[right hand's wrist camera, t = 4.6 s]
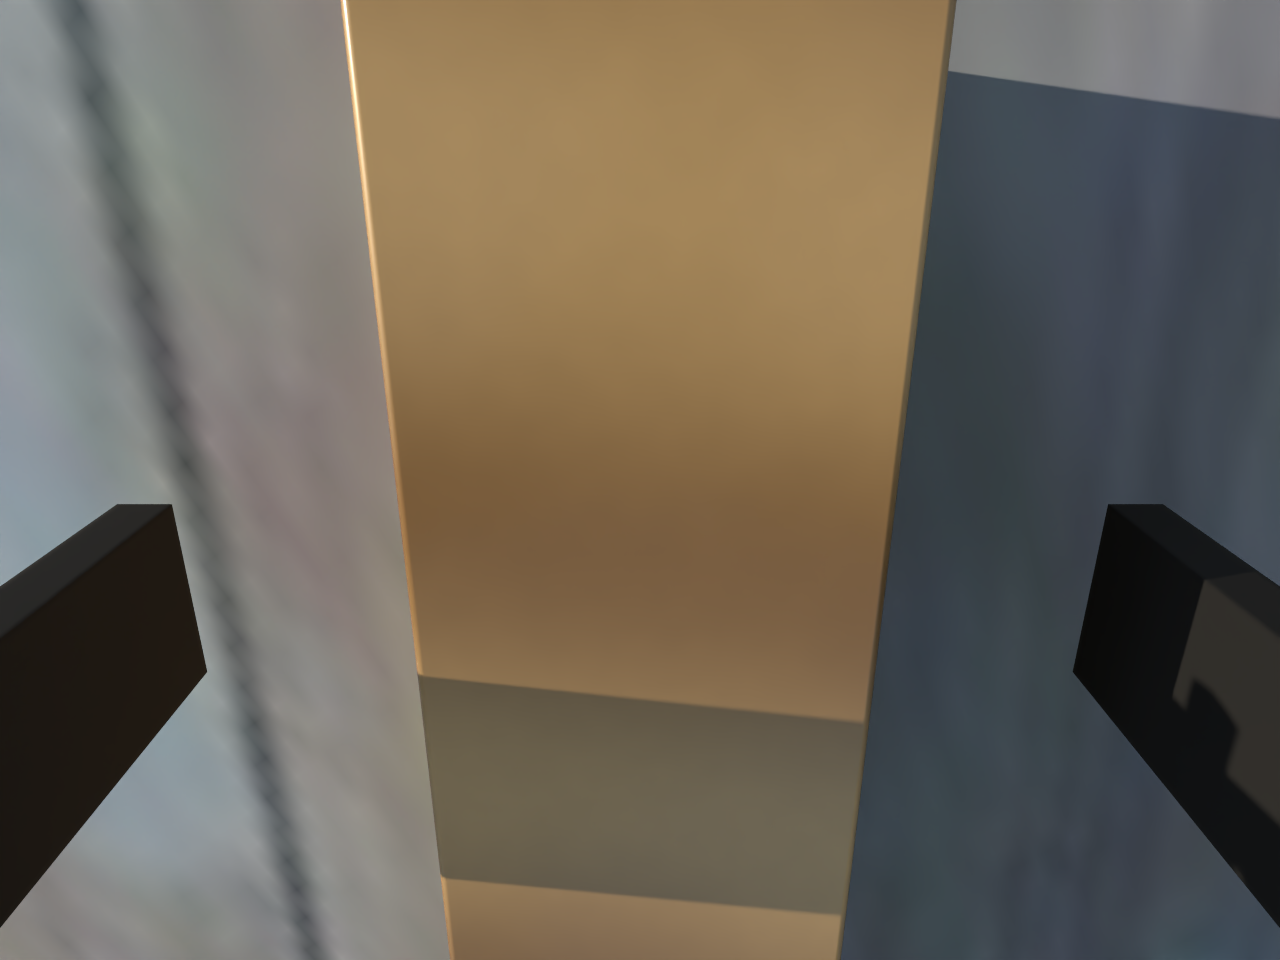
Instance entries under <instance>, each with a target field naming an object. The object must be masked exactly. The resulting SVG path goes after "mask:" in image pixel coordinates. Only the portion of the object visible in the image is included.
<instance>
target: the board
mask: <svg viewBox="0 0 1280 960" xmlns="http://www.w3.org/2000/svg"><path fill="white" fill-rule="evenodd" d="M340 1H341V10H342V19H343V27H344V36H345V45H346V53H347V62H348V71H349V80H350V88H351V97H352V106H353V115H354V123H355V132H356V141H357V149H358V158H359V167H360V176H361V184H362V193H363V202H364V211H365V219H366V228H367V237H368V246H369V254H370V263H371V272H372V280H373V289H374V298H375V307H376V315H377V324H378V333H379V342H380V350H381V359H382V368H383V377H384V385H385V394H386V403H387V411H388V420H389V429H390V438H391V446H392V455H393V464H394V473H395V481H396V490H397V499H398V508H399V516H400V525H401V534H402V542H403V551H404V560H405V569H406V577H407V586H408V595H409V604H410V612H411V621H412V630H413V638H414V647H415V656H416V665H417V673H418V682H419V691H420V700H421V708H422V717H423V726H424V735H425V743H426V752H427V761H428V769H429V778H430V787H431V796H432V804H433V813H434V822H435V831H436V839H437V848H438V857H439V866H440V874H441V883H442V892H443V900H444V909H445V918H446V927H447V935H448V944H449V953H450V960H841V952H842V943H843V935H844V927H845V919H846V910H847V902H848V894H849V886H850V877H851V869H852V861H853V853H854V844H855V836H856V828H857V819H858V811H859V803H860V795H861V786H862V778H863V770H864V762H865V753H866V745H867V737H868V729H869V720H870V712H871V704H872V695H873V687H874V679H875V671H876V662H877V654H878V646H879V638H880V629H881V621H882V613H883V605H884V596H885V588H886V580H887V572H888V563H889V555H890V547H891V538H892V530H893V522H894V514H895V505H896V497H897V489H898V481H899V472H900V464H901V456H902V448H903V439H904V431H905V423H906V414H907V406H908V398H909V390H910V381H911V373H912V365H913V357H914V348H915V340H916V332H917V324H918V315H919V307H920V299H921V290H922V282H923V274H924V266H925V257H926V249H927V241H928V233H929V224H930V216H931V208H932V200H933V191H934V183H935V175H936V167H937V158H938V150H939V142H940V133H941V125H942V117H943V109H944V100H945V92H946V84H947V76H948V67H949V59H950V51H951V43H952V34H953V26H954V18H955V9H956V1H957V0H340Z"/></svg>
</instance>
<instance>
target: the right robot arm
mask: <svg viewBox="0 0 1280 960" xmlns="http://www.w3.org/2000/svg"><path fill="white" fill-rule="evenodd" d="M206 673H207V669H206V664H205V659H204V654H203V650H202V645H201V640H200V636H199V631H198V626H197V621H196V617H195V612H194V607H193V602H192V598H191V593H190V588H189V584H188V579H187V574H186V569H185V565H184V560H183V555H182V550H181V546H180V541H179V536H178V531H177V527H176V522H175V517H174V513H173V508H172V504H117V505H115V506H114V507H113V508H111V509H110V510H108V511H107V512H106V513H104V514H103V515H101V516H100V517H98V518H97V519H96V520H94V521H93V522H91V523H90V524H88V525H87V526H86V527H84V528H83V529H81V530H80V531H78V532H77V533H76V534H74V535H73V536H71V537H70V538H69V539H67V540H66V541H64V542H63V543H61V544H60V545H59V546H57V547H56V548H54V549H53V550H51V551H50V552H49V553H47V554H46V555H44V556H43V557H42V558H40V559H39V560H37V561H36V562H34V563H33V564H32V565H30V566H29V567H27V568H26V569H24V570H23V571H22V572H20V573H19V574H17V575H16V576H15V577H13V578H12V579H10V580H9V581H7V582H6V583H5V584H3V585H2V586H0V927H1V926H2V925H3V924H4V922H5V921H6V920H7V919H8V917H9V916H10V915H11V914H12V913H13V911H14V910H15V909H16V908H17V906H18V905H19V904H20V903H21V901H22V900H23V899H24V898H25V896H26V895H27V894H28V893H29V892H30V890H31V889H32V888H33V887H34V885H35V884H36V883H37V882H38V880H39V879H40V878H41V877H42V875H43V874H44V873H45V872H46V871H47V869H48V868H49V867H50V866H51V864H52V863H53V862H54V861H55V859H56V858H57V857H58V856H59V854H60V853H61V852H62V851H63V849H64V848H65V847H66V846H67V845H68V843H69V842H70V841H71V840H72V838H73V837H74V836H75V835H76V833H77V832H78V831H79V830H80V828H81V827H82V826H83V825H84V824H85V822H86V821H87V820H88V819H89V817H90V816H91V815H92V814H93V812H94V811H95V810H96V809H97V807H98V806H99V805H100V804H101V802H102V801H103V800H104V799H105V798H106V796H107V795H108V794H109V793H110V791H111V790H112V789H113V788H114V786H115V785H116V784H117V783H118V781H119V780H120V779H121V778H122V777H123V775H124V774H125V773H126V772H127V770H128V769H129V768H130V767H131V765H132V764H133V763H134V762H135V760H136V759H137V758H138V757H139V755H140V754H141V753H142V752H143V751H144V749H145V748H146V747H147V746H148V744H149V743H150V742H151V741H152V739H153V738H154V737H155V736H156V734H157V733H158V732H159V731H160V730H161V728H162V727H163V726H164V725H165V723H166V722H167V721H168V720H169V718H170V717H171V716H172V715H173V713H174V712H175V711H176V710H177V709H178V707H179V706H180V705H181V704H182V702H183V701H184V700H185V699H186V697H187V696H188V695H189V694H190V692H191V691H192V690H193V689H194V687H195V686H196V685H197V684H198V683H199V681H200V680H201V679H202V678H203V676H204V675H205V674H206ZM1073 673H1074V674H1075V675H1076V676H1077V678H1078V679H1079V680H1080V681H1081V683H1082V684H1083V685H1084V686H1085V687H1086V689H1087V690H1088V691H1089V692H1090V694H1091V695H1092V696H1093V697H1094V699H1095V700H1096V701H1097V702H1098V704H1099V705H1100V706H1101V707H1102V709H1103V710H1104V711H1105V712H1106V713H1107V715H1108V716H1109V717H1110V718H1111V720H1112V721H1113V722H1114V723H1115V725H1116V726H1117V727H1118V728H1119V730H1120V731H1121V732H1122V733H1123V734H1124V736H1125V737H1126V738H1127V739H1128V741H1129V742H1130V743H1131V744H1132V746H1133V747H1134V748H1135V749H1136V751H1137V752H1138V753H1139V754H1140V756H1141V757H1142V758H1143V759H1144V760H1145V762H1146V763H1147V764H1148V765H1149V767H1150V768H1151V769H1152V770H1153V772H1154V773H1155V774H1156V775H1157V777H1158V778H1159V779H1160V780H1161V781H1162V783H1163V784H1164V785H1165V786H1166V788H1167V789H1168V790H1169V791H1170V793H1171V794H1172V795H1173V796H1174V798H1175V799H1176V800H1177V801H1178V802H1179V804H1180V805H1181V806H1182V807H1183V809H1184V810H1185V811H1186V812H1187V814H1188V815H1189V816H1190V817H1191V819H1192V820H1193V821H1194V822H1195V824H1196V825H1197V826H1198V827H1199V828H1200V830H1201V831H1202V832H1203V833H1204V835H1205V836H1206V837H1207V838H1208V840H1209V841H1210V842H1211V843H1212V845H1213V846H1214V847H1215V848H1216V849H1217V851H1218V852H1219V853H1220V854H1221V856H1222V857H1223V858H1224V859H1225V861H1226V862H1227V863H1228V864H1229V866H1230V867H1231V868H1232V869H1233V871H1234V872H1235V873H1236V874H1237V875H1238V877H1239V878H1240V879H1241V880H1242V882H1243V883H1244V884H1245V885H1246V887H1247V888H1248V889H1249V890H1250V892H1251V893H1252V894H1253V895H1254V896H1255V898H1256V899H1257V900H1258V901H1259V903H1260V904H1261V905H1262V906H1263V908H1264V909H1265V910H1266V911H1267V913H1268V914H1269V915H1270V916H1271V917H1272V919H1273V920H1274V921H1275V922H1276V924H1277V925H1278V926H1279V927H1280V586H1278V585H1277V584H1275V583H1274V582H1273V581H1271V580H1270V579H1268V578H1267V577H1265V576H1264V575H1263V574H1261V573H1260V572H1258V571H1257V570H1256V569H1254V568H1253V567H1251V566H1250V565H1248V564H1247V563H1246V562H1244V561H1243V560H1241V559H1240V558H1238V557H1237V556H1236V555H1234V554H1233V553H1231V552H1230V551H1229V550H1227V549H1226V548H1224V547H1223V546H1221V545H1220V544H1219V543H1217V542H1216V541H1214V540H1213V539H1211V538H1210V537H1209V536H1207V535H1206V534H1204V533H1203V532H1202V531H1200V530H1199V529H1197V528H1196V527H1194V526H1193V525H1192V524H1190V523H1189V522H1187V521H1186V520H1184V519H1183V518H1182V517H1180V516H1179V515H1177V514H1176V513H1174V512H1173V511H1172V510H1170V509H1169V508H1167V507H1166V506H1165V505H1163V504H1108V508H1107V513H1106V517H1105V522H1104V527H1103V531H1102V536H1101V541H1100V546H1099V550H1098V555H1097V560H1096V565H1095V569H1094V574H1093V579H1092V584H1091V588H1090V593H1089V598H1088V602H1087V607H1086V612H1085V617H1084V621H1083V626H1082V631H1081V636H1080V640H1079V645H1078V650H1077V654H1076V659H1075V664H1074V669H1073Z"/></svg>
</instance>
